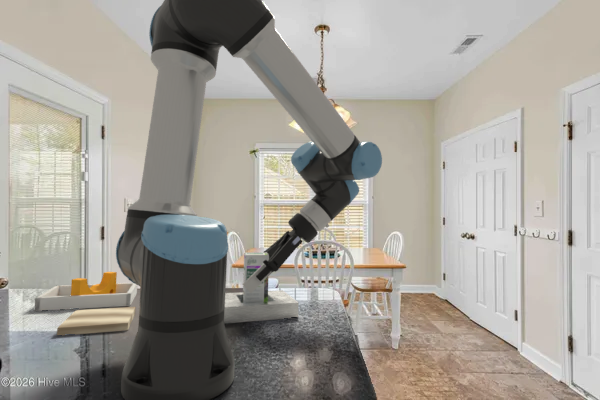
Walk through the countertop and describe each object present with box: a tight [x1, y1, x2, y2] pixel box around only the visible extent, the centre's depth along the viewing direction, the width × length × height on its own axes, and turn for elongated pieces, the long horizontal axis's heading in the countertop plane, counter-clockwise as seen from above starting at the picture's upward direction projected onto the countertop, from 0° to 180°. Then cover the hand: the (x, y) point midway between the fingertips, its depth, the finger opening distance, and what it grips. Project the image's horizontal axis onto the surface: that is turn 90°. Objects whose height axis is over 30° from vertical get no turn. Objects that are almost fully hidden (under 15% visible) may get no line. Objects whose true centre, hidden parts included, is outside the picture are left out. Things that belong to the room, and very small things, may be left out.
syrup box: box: [242, 251, 269, 303], centre depth 82 cm, size 6×6×14 cm
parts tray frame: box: [33, 282, 138, 312], centre depth 88 cm, size 14×20×3 cm
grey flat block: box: [224, 289, 300, 325], centre depth 82 cm, size 13×18×4 cm
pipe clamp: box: [70, 271, 118, 296], centre depth 88 cm, size 12×4×6 cm, turn 169°
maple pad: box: [56, 306, 136, 336], centre depth 71 cm, size 12×12×2 cm
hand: (246, 282), depth 82 cm, fingers open, 13 cm apart
